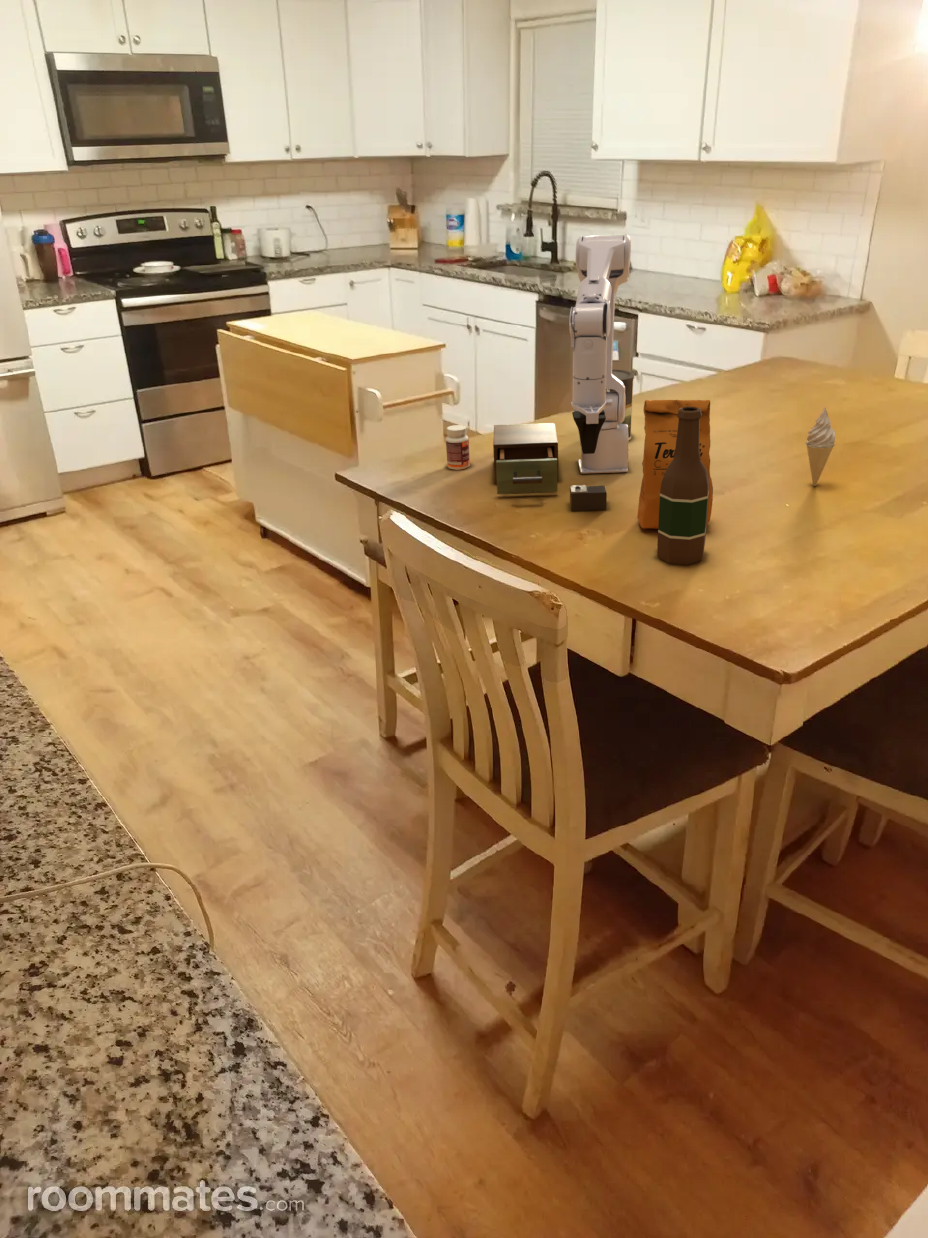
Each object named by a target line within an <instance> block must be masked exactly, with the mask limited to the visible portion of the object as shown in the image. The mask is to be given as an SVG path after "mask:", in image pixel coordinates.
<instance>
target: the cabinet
mask: <svg viewBox="0 0 928 1238" xmlns="http://www.w3.org/2000/svg"><path fill="white" fill-rule="evenodd" d="M492 439H493V441H492V442H493V443H492V446H493V448H492V449H493V472H494V473H493V474H494V475H493V476H494V485H497V471H496V460H500V448H521V447H547V446H551V449H552V455H553V458H557V483H558V482H559V440H558V439H559V438H558V434H557V428H556V422H539V423H537V422H535V423H513V424H494V425H493V438H492Z"/></svg>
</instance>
